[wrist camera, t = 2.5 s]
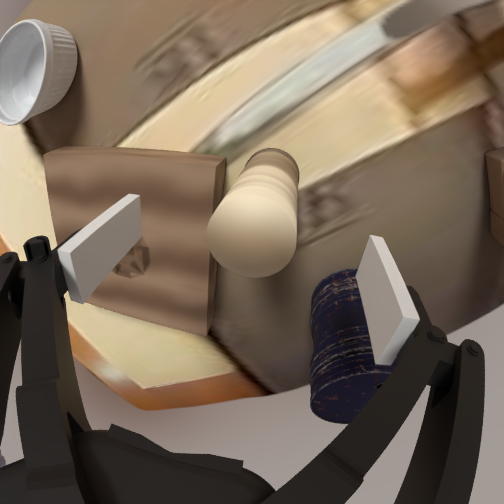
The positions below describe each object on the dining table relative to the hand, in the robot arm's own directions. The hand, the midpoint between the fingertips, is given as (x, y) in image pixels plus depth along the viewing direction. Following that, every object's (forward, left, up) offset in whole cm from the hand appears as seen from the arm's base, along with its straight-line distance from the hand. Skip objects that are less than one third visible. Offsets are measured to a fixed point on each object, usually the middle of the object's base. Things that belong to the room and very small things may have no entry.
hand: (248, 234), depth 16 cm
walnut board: (+11, -16, -15) cm, 24 cm away
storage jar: (+15, +12, -15) cm, 24 cm away
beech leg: (0, 0, -15) cm, 15 cm away
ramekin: (-11, -30, -15) cm, 35 cm away
